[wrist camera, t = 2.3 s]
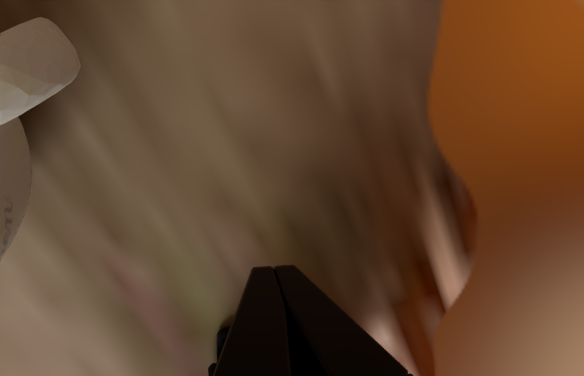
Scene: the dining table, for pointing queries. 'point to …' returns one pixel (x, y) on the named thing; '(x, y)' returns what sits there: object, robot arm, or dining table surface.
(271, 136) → the dining table surface
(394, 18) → the dining table surface
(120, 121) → the dining table surface
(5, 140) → the teacup
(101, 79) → the dining table surface
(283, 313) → the robot arm
